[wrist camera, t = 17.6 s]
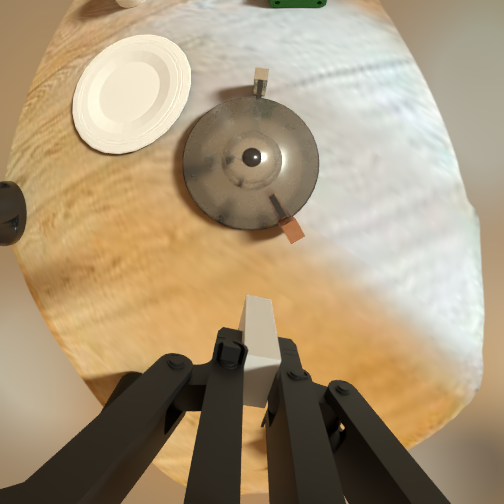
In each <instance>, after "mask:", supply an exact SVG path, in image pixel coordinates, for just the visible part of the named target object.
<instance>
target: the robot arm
mask: <svg viewBox="0 0 504 504" xmlns="http://www.w3.org/2000/svg"><path fill="white" fill-rule="evenodd" d="M26 215H27V214H26V203H25V199H24V196H23V193H22V191H21V189H20V188H19V186H18V185H17V184H15V183H14V182H12V181H2V182H0V246H8V245H11V244H14V243H16V242H17V241H18V240H19V239H20V238H21V236H22V234H23V232H24V229H25V225H26ZM267 400H268V408H267V411H266V414H265V416H264V419H263V421H262V424H261V427H264V424H265V423H266V442H267V462H268V482H269V502H270V504H346V502H345V499H344V496H345V498H346V500H347V501H348V503H349V504H451V503H450V502H449V501H448V500H447V498H446V497H445V496H444V495H443V494H442V492H441V491H440V490H439V489H438V488H437V487H436V485H435V484H434V483H433V482H432V480H431V479H430V478H429V477H428V476H427V474H426V473H425V472H424V471H423V470H422V468H421V467H420V466H419V465H418V464H417V462H416V461H415V460H414V459H413V458H412V456H411V455H410V454H409V453H408V451H407V450H406V449H405V448H404V447H403V445H402V444H401V443H400V442H399V440H398V439H397V438H396V437H395V436H394V434H393V433H392V432H391V431H390V429H389V428H388V427H387V426H386V425H385V423H384V422H383V421H382V420H381V419H380V417H379V416H378V415H377V414H376V412H375V411H374V410H373V409H372V408H371V406H370V405H369V404H368V403H367V401H366V400H365V399H364V398H363V397H362V395H361V394H360V393H359V392H358V390H357V389H356V388H355V387H354V386H353V385H352V384H350V383H348V382H346V381H342V380H334V381H331V382H330V383H329V385H328V387H326V386H323V385H320V384H317V383H314V382H312V379H311V376H310V374H309V373H308V372H307V371H305V370H304V369H302V365H301V362H300V358H299V354H298V352H297V347H296V344H295V343H294V342H293V341H292V340H291V339H286V338H281V337H277V331H276V325H275V319H274V313H273V307H272V302H271V299H267V298H262V297H257V296H252V295H246V299H245V303H244V307H243V311H242V316H241V320H240V324H239V328H238V330H235V329H230V328H225V327H223V328H221V329H220V330H219V331H218V334H217V339H216V343H215V347H214V352H213V357H212V360H211V361H210V362H208V363H206V364H201V365H193V364H192V361H191V360H190V359H189V358H187V357H186V356H184V355H181V354H176V353H170V354H165V355H163V356H162V357H160V358H159V359H158V360H157V361H156V362H155V363H154V364H153V365H152V366H151V367H150V368H149V369H148V370H147V371H145V372H144V373H143V374H142V375H141V376H140V377H139V378H138V379H137V380H136V381H135V382H134V383H133V384H132V385H130V386H129V387H128V388H127V389H126V390H125V391H124V392H123V393H122V394H121V395H120V396H119V397H118V398H116V399H115V400H114V401H113V402H112V403H111V404H110V405H109V406H108V407H107V408H106V409H105V410H103V411H102V412H101V413H100V414H99V415H98V416H97V417H96V418H95V419H94V420H93V421H92V422H90V423H89V424H88V425H87V426H86V427H85V428H84V429H83V430H82V431H81V432H79V433H78V434H77V435H76V436H75V437H74V438H73V439H72V440H71V441H70V442H68V443H67V444H66V445H65V446H64V447H63V448H62V449H61V450H60V451H58V452H57V453H56V454H55V455H54V456H53V457H52V458H51V459H50V460H48V461H47V462H46V463H45V464H44V465H43V466H42V467H41V468H39V469H38V470H37V471H36V472H35V473H34V474H33V475H32V476H30V477H29V478H28V479H27V480H26V481H25V482H23V483H20V484H16V485H14V486H10V487H7V488H3V489H0V504H121V502H122V501H123V499H124V498H125V497H126V496H127V494H128V493H129V492H130V490H131V489H132V488H133V486H134V485H135V484H136V482H137V481H138V480H139V478H140V477H141V476H142V474H143V473H144V472H145V470H146V469H147V467H148V466H149V465H150V463H151V462H152V461H153V459H154V458H155V456H156V455H157V454H158V452H159V451H160V450H161V448H162V447H163V445H164V444H165V443H166V441H167V440H168V438H169V437H170V436H171V434H172V433H173V431H174V430H175V428H176V427H177V426H178V424H179V423H180V421H181V420H182V418H183V417H184V416H185V413H186V411H201V415H200V420H199V425H198V430H197V436H196V441H195V446H194V451H193V456H192V461H191V467H190V472H189V477H188V483H187V488H186V494H185V499H184V504H240V484H241V448H242V415H243V405H247V406H253V407H260V408H265V406H266V403H267ZM341 423H342V424H343V426H344V427H345V429H344V430H342V429H341V427H340V425H341Z"/></svg>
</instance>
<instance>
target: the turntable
mask: <svg viewBox="0 0 504 504" xmlns="http://www.w3.org/2000/svg"><path fill="white" fill-rule="evenodd" d="M246 131H258V132H262V133H264V134H266V135H268V136H270V137H271V138H272V139H273V140H274V141H275V142H276V143H277V145H278V146H279V148H280V150H281V154H282V168H281V171H280V173H279V175H278V177H277V178H276V179H275V181H274V182H272V183H271V184H270V185H269V186H267V187H265V188H262V189H259V190H245V189H241V188H239V187H237V186H235V185H234V184H233V183H231V182H230V181H229V180H228V178H227V177H226V175H225V174H224V171H223V168H222V163H221V158H222V153H223V150H224V148H225V146H226V144H227V143H228V142H229V140H231V139H232V138H233V137H234V136H236V135H238V134H240V133H242V132H246ZM183 165H184V174H185V179H186V182H187V185H188V188H189V190H190V192H191V194H192V196H193V197H194V199H195V200H196V202H197V203H198V204H199V205H200V207H201V208H202V209H203V210H204V211H205V212H207V213H208V214H209V215H210V216H212V217H213V218H215V219H217V220H218V221H220V222H223V223H225V224H227V225H230V226H234V227H239V228H248V229H254V228H263V227H268V226H271V225H274V224H277V223H279V225H280V226H281V228H282V230H283V231H284V233H285V235H286V237H287V238H288V240H289V241H290V243H291V244H292V243H294V242H296V241H297V240H299V239H301V238H303V237H304V236H305V235H304V233H303V231H302V230H301V228H300V226H299V224H298V222H297V221H296V219H295V218H294V217H292V216H291V215H293V214H294V213H295V212H296V211H297V210H298V209H300V207H301V206H302V205H303V204H304V203H305V201H306V200H307V198H308V197H309V195H310V194H311V192H312V190H313V187H314V184H315V182H316V178H317V173H318V153H317V148H316V144H315V142H314V139H313V136H312V134H311V133H310V131H309V129H308V128H307V126H306V125H305V123H304V122H303V121H302V120H301V119H300V118H299V117H298V116H297V115H296V114H295V113H294V112H293V111H291V110H290V109H288V108H287V107H285V106H283V105H281V104H279V103H277V102H274V101H271V100H268V99H263V98H261V99H256V98H253V97H248V98H239V99H234V100H231V101H228V102H225V103H223V104H221V105H219V106H217V107H215V108H214V109H212V110H211V111H209V112H208V113H207V114H206V115H205V116H203V117H202V118H201V120H200V121H199V122H198V123H197V124H196V126H195V127H194V129H193V130H192V132H191V134H190V136H189V138H188V141H187V144H186V147H185V152H184V162H183Z"/></svg>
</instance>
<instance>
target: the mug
mask: <svg viewBox="0 0 504 504" xmlns="http://www.w3.org/2000/svg"><path fill="white" fill-rule="evenodd" d="M115 1H116V2H117V3H118V4H119V6H121V7H124V8H131V7H134V6H137V5H139V4H141V3H143V2H144V1H145V0H115Z"/></svg>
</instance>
